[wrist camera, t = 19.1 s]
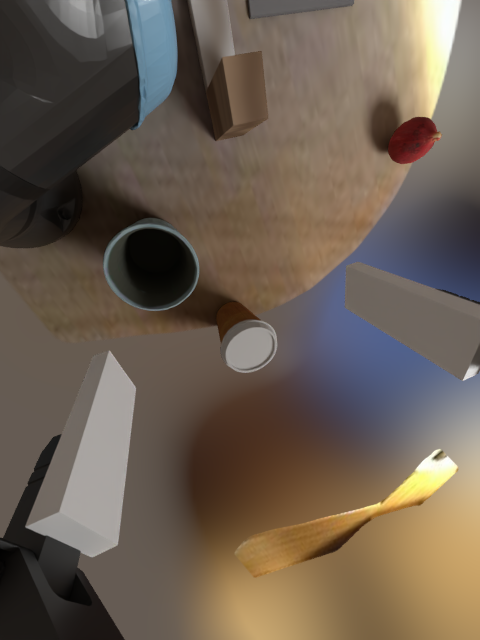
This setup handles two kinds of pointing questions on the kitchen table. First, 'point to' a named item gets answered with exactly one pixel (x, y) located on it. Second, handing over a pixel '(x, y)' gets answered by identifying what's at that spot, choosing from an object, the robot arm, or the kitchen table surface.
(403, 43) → the kitchen table surface
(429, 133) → the onion
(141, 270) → the grey-green hollow open cylinder
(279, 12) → the mat
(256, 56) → the tan l-shaped piece
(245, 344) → the disposable coffee cup
